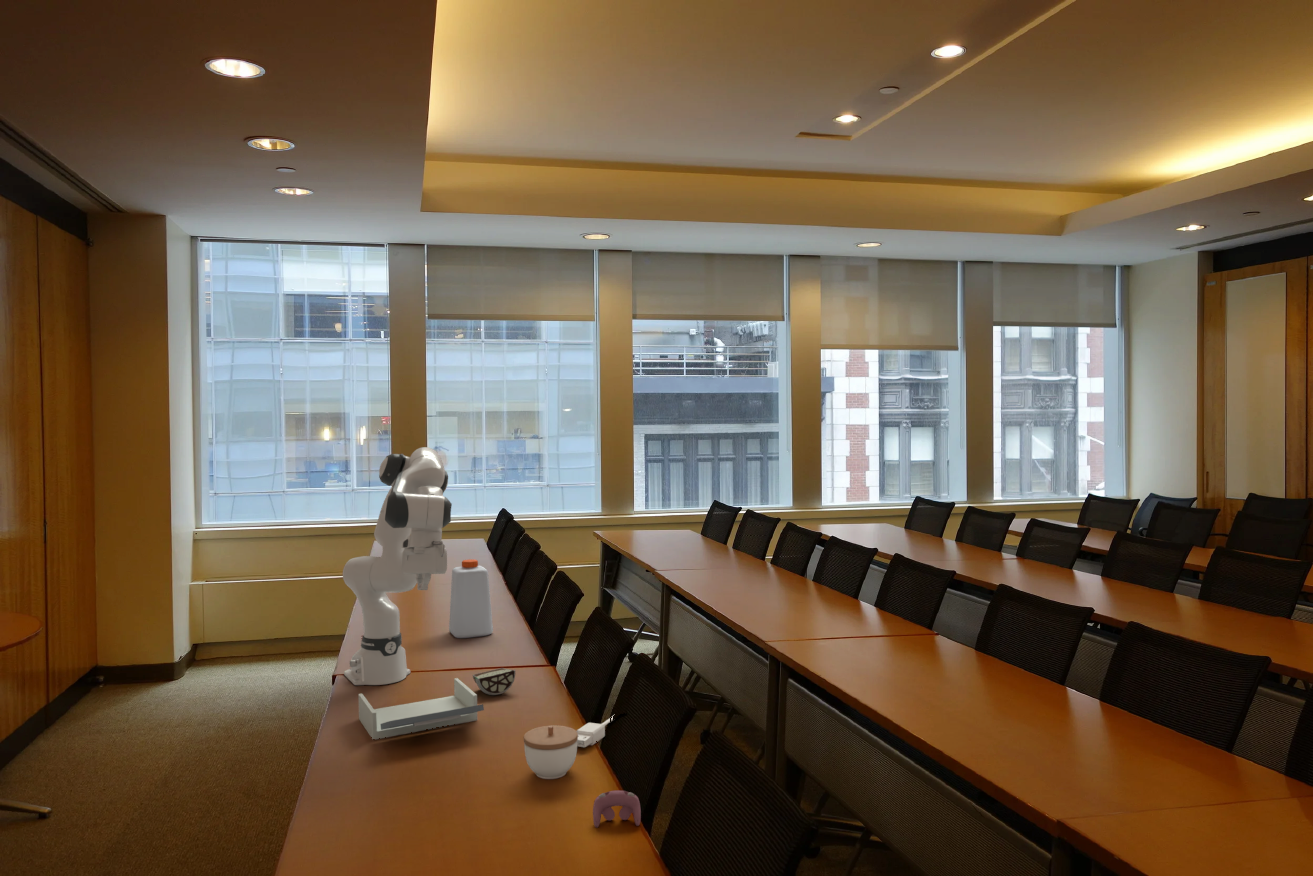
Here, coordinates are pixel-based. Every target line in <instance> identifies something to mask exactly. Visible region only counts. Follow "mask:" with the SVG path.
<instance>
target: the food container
mask: <svg viewBox="0 0 1313 876" xmlns="http://www.w3.org/2000/svg"><path fill="white" fill-rule="evenodd" d="M472 678H473V681H474V682H475V684H476V685H477V687H478V688H479V690H480V691H482V693H484V694H486V695H489V696H498V695H501V694H503V693H505V692H507V691H508V690H509V689H510V688H511V687H512V685H513V684H514V682H515V679H516V669H509V668H504V667H500V668H496V669H491V670H488V671H483V672H478V673H475V674H472Z"/></svg>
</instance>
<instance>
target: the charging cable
mask: <svg viewBox="0 0 1313 876" xmlns="http://www.w3.org/2000/svg"><path fill="white" fill-rule="evenodd" d="M613 716H614V715H612V716H611V717H612V718H611V717H609V718H608V719H606V720H605V721H604V722H602V723H595V722H587V723H586V724H584V725H583V726H581V727H580V728H578V729H576V732H577V733H578V740H577V747H581V748H586V747H588V746H593V745H595V744H596V743H597V742H599V741H601V740H602V739H603V738H604V737H605V736H606V731H605V730H606V729H605V727H606V726H607V725H608V724H609V723H611V722H613V721H614V720H613ZM610 718H611V722H610ZM596 741H597V742H596Z"/></svg>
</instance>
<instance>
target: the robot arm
mask: <svg viewBox="0 0 1313 876" xmlns="http://www.w3.org/2000/svg"><path fill="white" fill-rule="evenodd" d="M380 463H381V464H380V466H379V471H378V473H379V474H378V476H379V477H378V478H379V480H380V482H382V483H383V484H385V485H386V486H389V487H391V488H389V490H388V491H387V494H386V496H385V498H384V500H383V503H382V506H381V509H380V512H379V515H378V519H377V521H376V524H375V529H374V531H373V536H374V539H375V540H376V542H377V543H378V544H379V545H380V546H381V547H382V553H381V555H380V556H374V555H371V556H369V555H362V556H357V557H353V558H350V559H349V560H348V561H346V563H345V565H344V566H343V569H342V580H343V582H344V584H345V585H346V586H347V587H348V588H349V589H350V590H351V591H352V592H353V594H354V595H355V597H356V598H357V600H358V602H359V606H360V608H361V613H362V625H363V627H362V628H363V635H361V636H360V637H361V641H360V642H361V643H360V648H359V649H358V650H356V652H355V653H354V654H353V655H352V657H351V660H349V667H350V668H348V669H346V670H344V672H343V675H344V676H345V677H346V678H347V679H348V680H349V681H350V682H351V683H352V684H353V685H354V686H364V685H366V686H380V685H383V686H384V685H388V684H389V685H390V684H394V683H397V682H401V681H403V680H405V678H406V677H407V676H408V675H410V674H411V669H409V668H408V666H407V656H406V655H407V654H406V649H405V648H404V647H403V646H402V644H403V643H402V640H403V637H402V633H401V632H400V631H401V630H400V629H401V624H400V620H401V619H400V616H401V615H400V609H399V607H398V606H397V605H396V604H395V603H394V602H393V601H391V600H390V598H389V597H388V595H387V593H390V594H391V593H395V594H399V593H404V592H410V591H412V590H414V588H415V587H416V586H417V587H416V589H417V591H427V590H428V589H429V584H430V581H431V579H432V575H440V574H441V575H443V574H444V575H445V574H446V573H447V570H448V554H447V553H448V552H447V551H448V550H446V546H445V544H444V542H443V541H442V539H443V537H442V536H443V528H445V527H446V526H448V525H449V524H450V523H452V522H451V521H452V519H451V518H452V515H451V513H452V504H453V503H452V502H451V501H450V500H449V499H448V497H446V496H444V493H445V491H446V489H447V488H448V486H449V485H448V483H449V474H448V472H447V471H446V470H445V465H444V463H443V460H442V458H441V456H440V455H439V453H438V452H437V451H436V450H435V449H433V448H431V447H427V446H426V447H425V446H424V447H423V446H422V447H419V448H417V449H415V450H414V451H413V452H412V453H411V454H410V456H407V455H404V453H390V454H388V455H386V457H385V458H384V459H383V460H382V462H380Z"/></svg>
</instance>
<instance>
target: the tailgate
mask: <svg viewBox="0 0 1313 876" xmlns="http://www.w3.org/2000/svg"><path fill="white" fill-rule="evenodd" d="M482 711H485V709H484V703H483V704H477V705H476V706H471V707H465V708H460V709H454V710H449V711H443V712H438V713H432V714H426V715H421V716H415V717H410V718H404V719H399V720H393V721H389V722H385V723H382V724H381V730H383V729H389V728H394V727H399V726H405V725H410V724H413V727H414V726H419V725H424V724H430V723H435V722H441V721H446V720H451V719H457V718H461V715H465V714H470V713H474V712H477V713H478V712H482Z"/></svg>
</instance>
